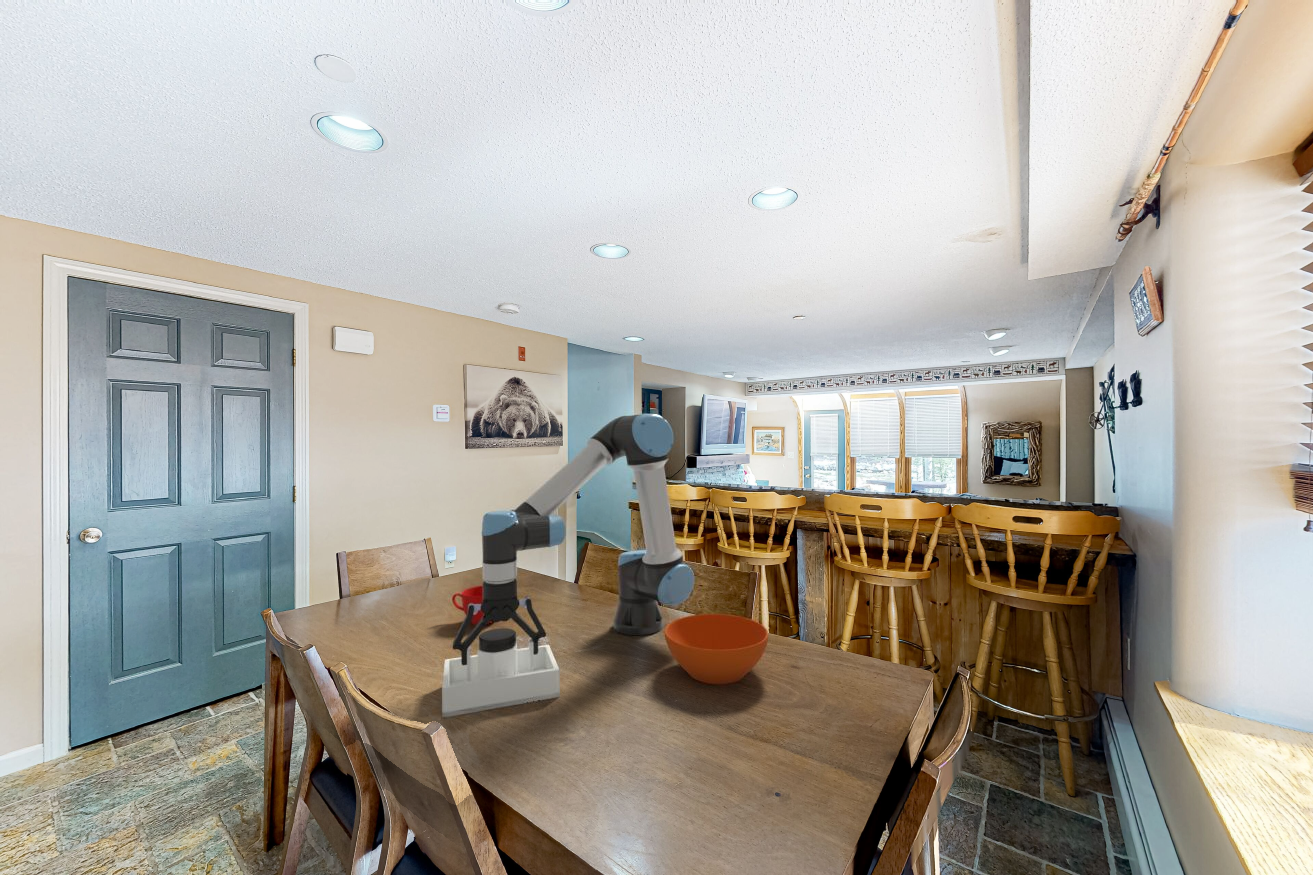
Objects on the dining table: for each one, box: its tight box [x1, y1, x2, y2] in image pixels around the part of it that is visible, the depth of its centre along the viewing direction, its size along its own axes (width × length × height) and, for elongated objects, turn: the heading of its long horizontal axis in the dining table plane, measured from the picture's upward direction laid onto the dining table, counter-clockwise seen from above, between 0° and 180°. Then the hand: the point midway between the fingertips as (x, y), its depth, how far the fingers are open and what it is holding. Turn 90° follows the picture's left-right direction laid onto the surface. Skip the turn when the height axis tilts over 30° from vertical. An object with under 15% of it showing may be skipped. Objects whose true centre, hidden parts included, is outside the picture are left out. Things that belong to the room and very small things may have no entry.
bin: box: [441, 644, 561, 719], centre depth 117 cm, size 24×16×6 cm, turn 110°
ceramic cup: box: [451, 585, 493, 626], centre depth 165 cm, size 13×17×10 cm
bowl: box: [664, 613, 769, 685], centre depth 126 cm, size 25×25×10 cm
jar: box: [477, 627, 518, 681], centre depth 117 cm, size 9×8×12 cm
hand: (500, 673), depth 118 cm, fingers open, 13 cm apart
